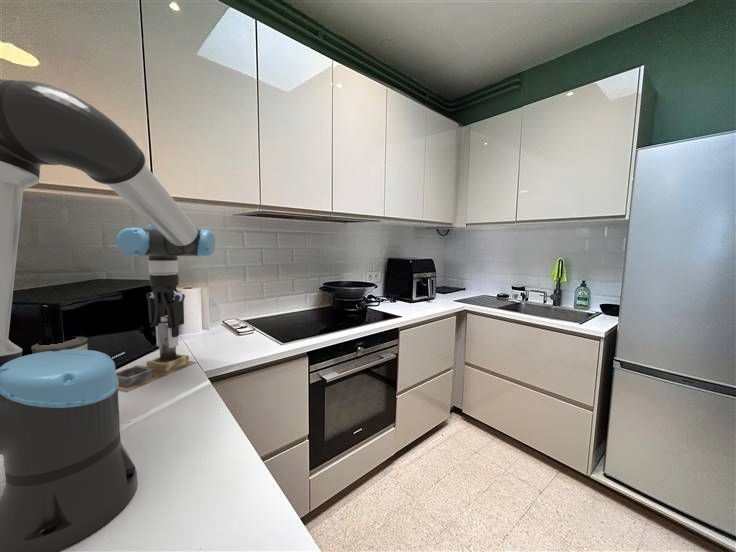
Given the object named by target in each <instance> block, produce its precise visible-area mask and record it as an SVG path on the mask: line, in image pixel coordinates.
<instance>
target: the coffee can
mask: <svg viewBox="0 0 736 552" xmlns="http://www.w3.org/2000/svg"><path fill="white" fill-rule="evenodd" d="M75 337H76V338H75V339H72V340H69V341H66V342H63V343H58V344H50V345H39V344H38V343H35V344H33V345H32V346H31V347H30V348H31V352H32V354H35V353H40V352H46V351H53V352H55V351H60V350H68V349H80V350H89V349H88V337H86V336H75Z"/></svg>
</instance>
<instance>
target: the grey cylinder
mask: <svg viewBox="0 0 736 552" xmlns="http://www.w3.org/2000/svg"><path fill="white" fill-rule="evenodd" d="M169 326H170V324H169V319H168V315H167V314H166V315H164V316H161V322H159V323H158V330H159V346H158V348H159V349H158V350H159V357H160V361H170V360H173V359H175V358H176V357H177V356H176V354H177V346H175V347H172V348H169V341H168V327H169Z"/></svg>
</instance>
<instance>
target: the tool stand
mask: <svg viewBox="0 0 736 552" xmlns="http://www.w3.org/2000/svg"><path fill="white" fill-rule="evenodd" d="M176 356H177V357H176V358H175V359H173V360H170V361H160V356H159V357H156V358H153V359H149V360H148V361H145V362H146V366H141V365H134V366H131V367H128V368H125V369H122V370H120V371H116V375H117V377H118V380H119V386H118V392H122V393H123V392H124V393H128V392H130V391H134V390H135V389H138V388H140V387H143V386H145V385H147V384H150V383H152V382H154V381H155V382H156V380H159V379H161V378H163V377H167V376H168V375H170V374H171V375H172V374H173V373H175V372H178V371H181V370H182V369H185V368H188V367H189V366H192V365H195V364H197V363H198V361H193V360H192V361H191V360H190V358H189V355H187V354H186V355H184V354H178V353H176Z"/></svg>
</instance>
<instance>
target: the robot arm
mask: <svg viewBox="0 0 736 552" xmlns="http://www.w3.org/2000/svg"><path fill="white" fill-rule="evenodd" d="M146 159H147V158H146V156H145V154H144V152H143V151H142V149H141V148H140V147H139V146H138V144H137V143H136V142H135V141H134V139H132V138H131V137H130V136H129V135H128V133H127V132H125V130H123V129H122V128H121V127H120V126H119V125H118V124H117V123H116V122H114V121H113V120H112V119H110V118H109V117H108V116H107V115H105V114H104V113H103V112H101V111H100V110H98V109H97V108H96V107H94V106H93V105H91V104H89V103H88V102H86V101H85V100H83V99H81V98H80V97H78V96H77V95H74V94H72V93H70V92H68V91H66V90H65V89H62V88H59V87H56V86H54V85H51V84H47V83H45V82H44V83H43V82H39V81H33V80H23V79H22V80H15V79H0V455H1V456H2V457H3V465H4V476H5V486H4V489H3V491H2V495H1V497H0V552H58V551H61V550H63V549H65V548H67V547H70V546H72V545H74V544H75V543H77V542H80V541H81V540H83V539H84V538H87V537H88V536H89V535H91V534H94V533H95V532H96V531H98V530H99V529H101V528H102V527H103V526H104V525H106V524H108V523H109V522H110V521H111V520H113V519H114V518H115V517H116V516H117V515H118V514H119V513H121V511H123V509H124V508H125V507H127V505H128V503H130V501H131V500H132V498H133V497H134V496H135V493H136V490H137V488H138V473H137V472H138V471H137V467H136V466H135V464H134V462H133V460H132V458H131V457H130V455H129V453H128V451H126V448H125V447H124V445H123V444H122V440H121V427H120V426H121V425H120V424H121V423H120V404H119V403H120V402H119V391H118V386H119V380H118V377H117V375H116V372H117V371H116V365H115V364H116V363H115V361H114V360H113V358H111V356H109V355H108V354H106V353H104V352H101V351H97V350H92V349H91V350H90V349H88V350H80V349H68V350H60V351H55V352H53V351H46V352H40V353H35V354H33V353H32V354H31V353H30V354H27V355H24V356H23V348H21V347H20V346H19V345H17V344H15V343H13V342H12V341H11V340H10V339H9V335H10V333H9V332H10V326H11V325H10V323H11V314H12V305H13V293H14V285H15V274H16V264H17V255H18V249H19V247H18V245H19V236H20V229H21V228H20V225H21V216H22V205H23V198H24V196H23V195H24V190H26V189H29V188H32V187H33V186H35V185H37V184H39V182H40V177H41V176H40V175H41V166H43V165H46V166H47V165H48V166H63V167H70V168H73V169H76V170H78V171H81V172H83V173H85V174H86V175H87V176H88V177H89V178H91V179H92V180H93V181H94V182H96V183H99V184H101V185H105V186H109V188H110V189H111V190H112V191H113V192H115V193H116V194H117V195H118V196H119V197H120V198H121V199H122V200H123V201H124V202H126V204H127V205H128V206H130V207H131V208H132V209H134V211H135V212H136V213H138V214H139V215H140V216H141V217H142V219H144V220H145V221H147V223H148V225H147V226H146V228H141V227H127V228H123V229H122V230H120V231H119V232H118V234H117V236H116V239H115V241H116V246H117V248H118V249H119V251H121V252H122V253H123V254H125V255H127V256H133V257H145V256H147V257H148V273H149V274H150V275H149V276H148V277H149V286H150V287H151V288H153V289H152V291H151V292H147V293H145V296H146V297H145V298H146V299H147V307H148V308H147V309H148V322H149V324H152V325H153V326H154V331H155V332H154V333H155V336H156V346H157V347H159V330H158V323H159V322H161V316H165V314H166V313H167V314H166V315H168V319H169V324H170V326H169V327H168V341H169V348H172V347H175V346H176V347H178V346H179V336H180V329H179V327H180V326H182V325H185V307H184V301H185V297H186V296H185V295H186V294H184V293H183V294H182V293H181V294H180V293H179V292H178V289H177V286H179V285H180V281H179V279H180V278H179V274H177V273H178V272H179V262H178V259H179V258H178V257H199V258H200V257H207V256H212V255H213V254H214V253H215V250H216V238H215V236H214V233H213V232H212V231H211V230H210V229H203V228H201V229H198V227H197V226H196V225H195V224H194V223H193V222H192V220H191V219H190V217H188V215H187V214H186V213H185V211H183V209H182V208H181V207H180V205H179V204H178V203H177V201H176V200H175V199H174V198H173V197H172V196H171V194H170V193H169V192H168V190H166V188H165V187H164V186H163V184H161V182H160V181H159V180H158V178H157V177H156V176H155V174H153V172H152V171H151V170H150V168H149V167H148V166H147V165H146V162H147V161H146Z"/></svg>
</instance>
